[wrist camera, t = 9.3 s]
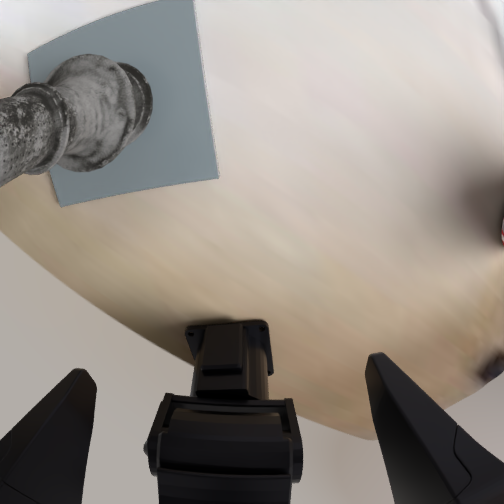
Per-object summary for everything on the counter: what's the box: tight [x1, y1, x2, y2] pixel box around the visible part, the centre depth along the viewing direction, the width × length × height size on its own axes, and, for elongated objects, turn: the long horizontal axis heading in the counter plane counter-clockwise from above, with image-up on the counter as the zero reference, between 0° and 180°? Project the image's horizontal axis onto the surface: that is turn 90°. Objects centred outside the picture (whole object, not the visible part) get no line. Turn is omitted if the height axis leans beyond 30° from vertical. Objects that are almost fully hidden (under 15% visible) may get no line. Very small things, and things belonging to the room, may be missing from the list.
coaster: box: [27, 0, 220, 207], centre depth 15 cm, size 11×11×1 cm
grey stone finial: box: [0, 54, 153, 187], centre depth 10 cm, size 6×6×12 cm
